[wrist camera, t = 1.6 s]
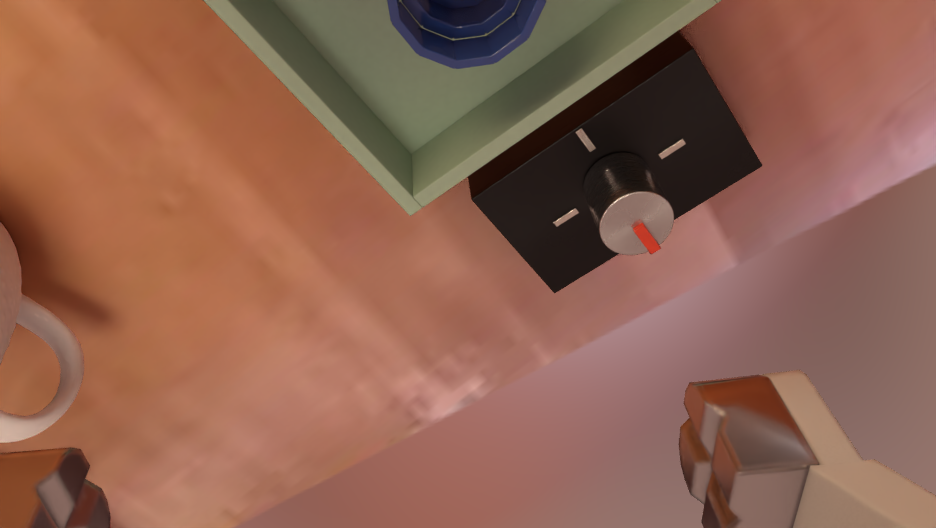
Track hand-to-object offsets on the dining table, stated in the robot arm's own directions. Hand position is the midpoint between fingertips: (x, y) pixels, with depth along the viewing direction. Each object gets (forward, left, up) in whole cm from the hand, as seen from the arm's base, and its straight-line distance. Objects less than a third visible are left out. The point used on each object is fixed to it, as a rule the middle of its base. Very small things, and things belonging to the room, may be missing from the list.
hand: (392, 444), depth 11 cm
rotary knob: (-2, +16, -27) cm, 32 cm away
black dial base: (-2, +16, -30) cm, 34 cm away
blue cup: (-2, +2, -30) cm, 30 cm away
